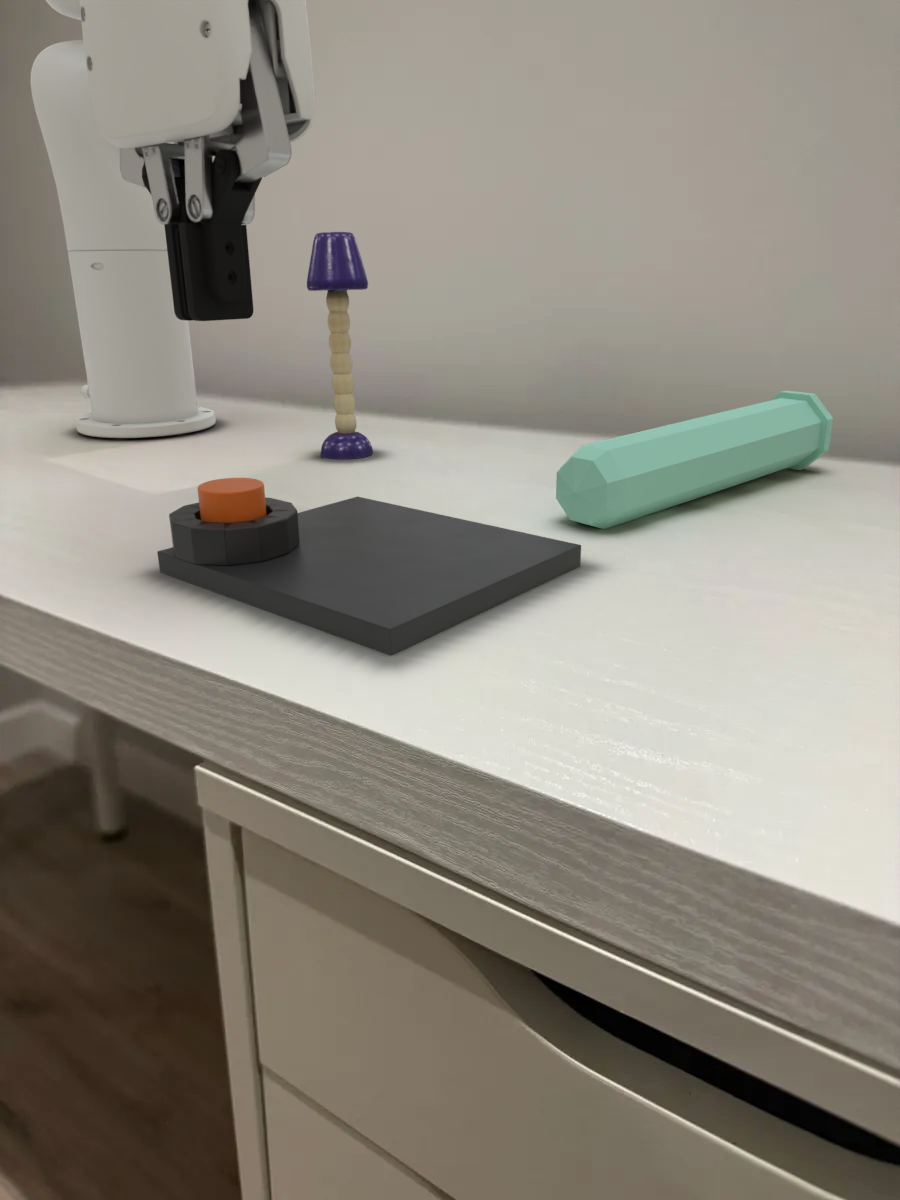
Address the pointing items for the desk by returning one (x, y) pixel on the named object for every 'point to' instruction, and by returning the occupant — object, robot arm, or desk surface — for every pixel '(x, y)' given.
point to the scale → (363, 566)
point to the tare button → (232, 500)
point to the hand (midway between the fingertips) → (215, 318)
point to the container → (691, 459)
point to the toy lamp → (340, 334)
